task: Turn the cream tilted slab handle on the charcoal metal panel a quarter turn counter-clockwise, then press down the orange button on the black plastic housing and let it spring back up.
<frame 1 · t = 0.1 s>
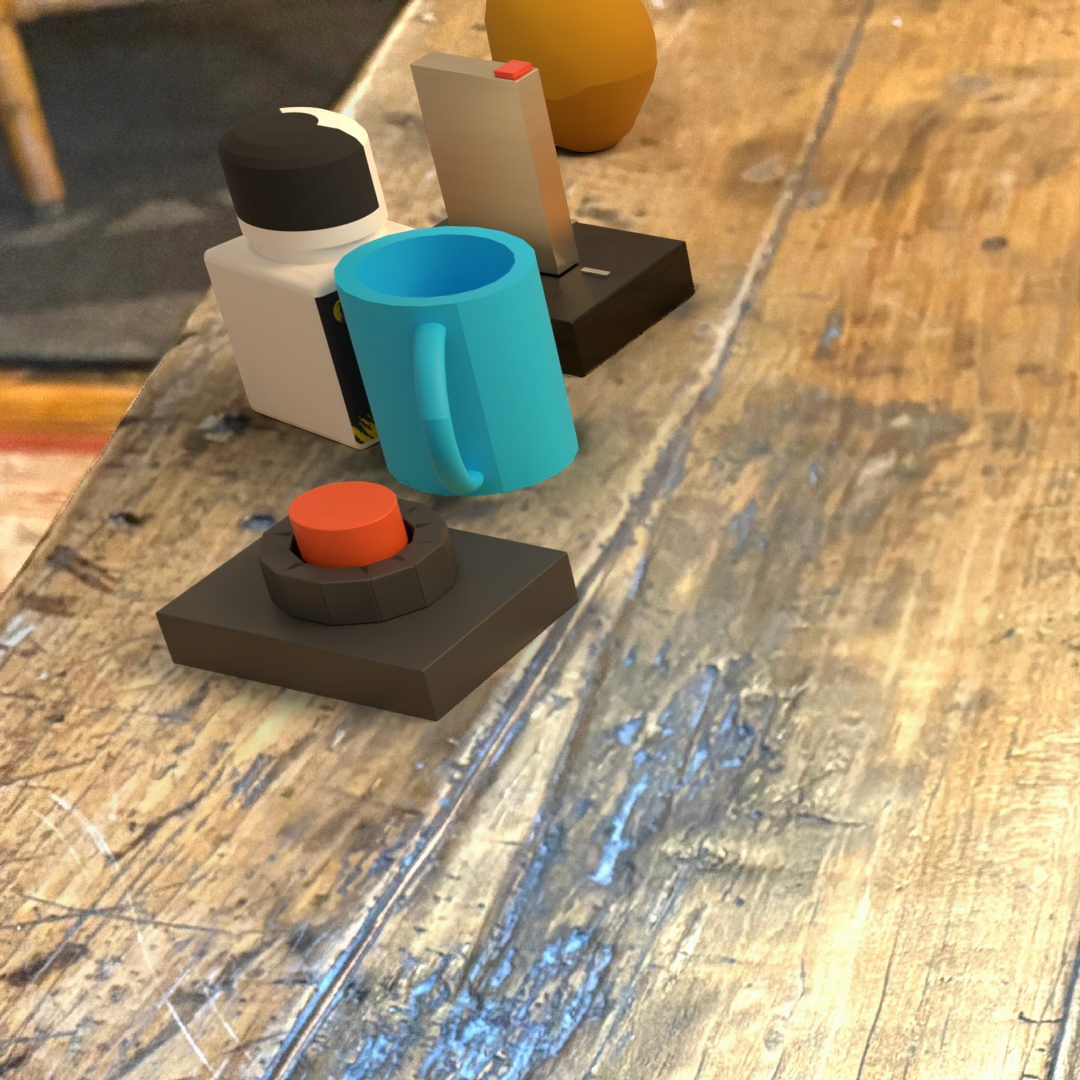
medicine bottle: (367, 408, 119), on the table
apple: (593, 144, 141), on the table
tilted slab handle: (496, 162, 121), point 7 cm above the table, hinge at 0.0°
mug: (480, 478, 115), on the table
button box: (380, 632, 105), on the table
button: (348, 526, 102), point 4 cm above the table, slide at 0.1 cm
dial panel: (531, 313, 126), on the table
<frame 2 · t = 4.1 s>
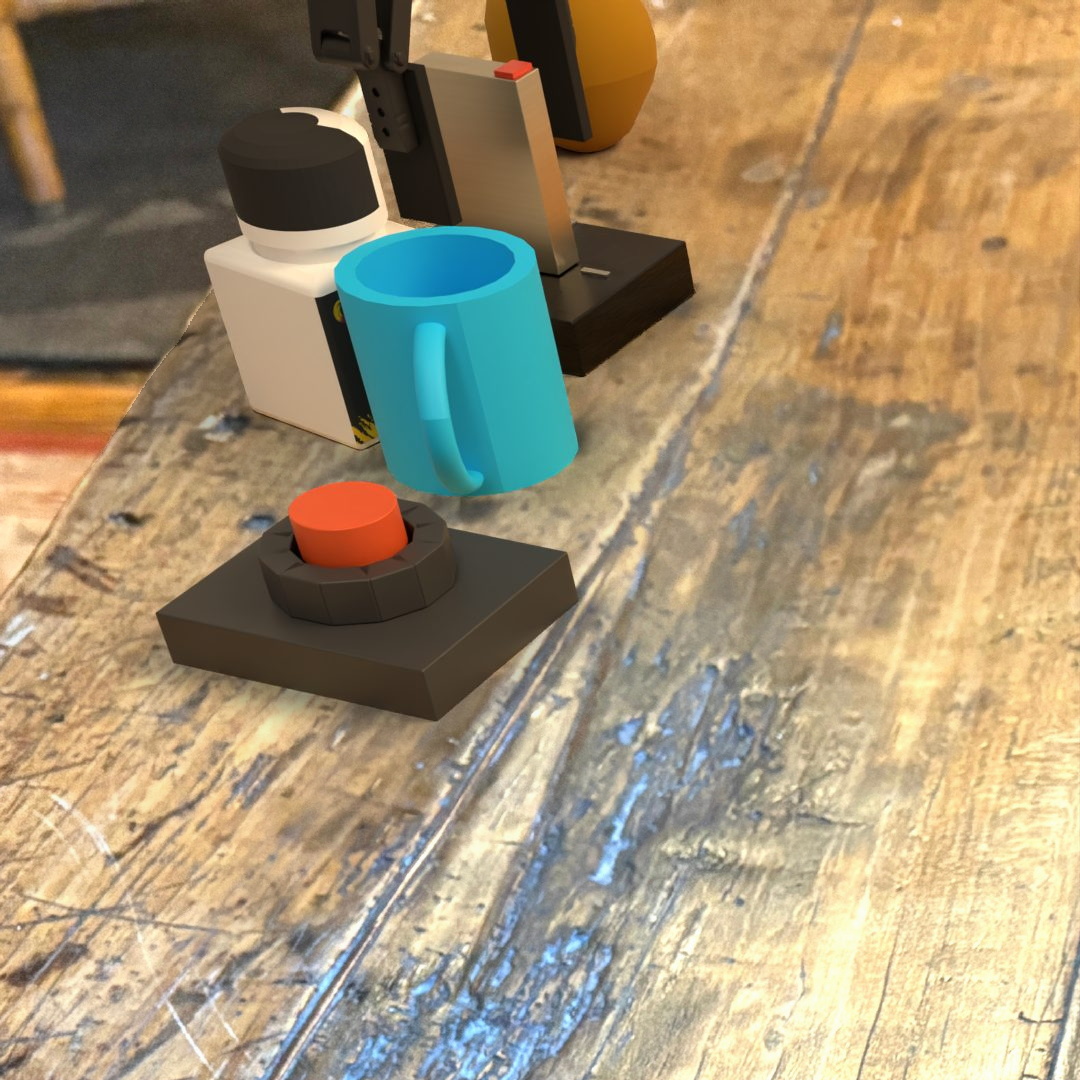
hand: (499, 176, 121), 6 cm above the table, tool pointing down, fingers open, 10 cm apart
nothing on the table moved.
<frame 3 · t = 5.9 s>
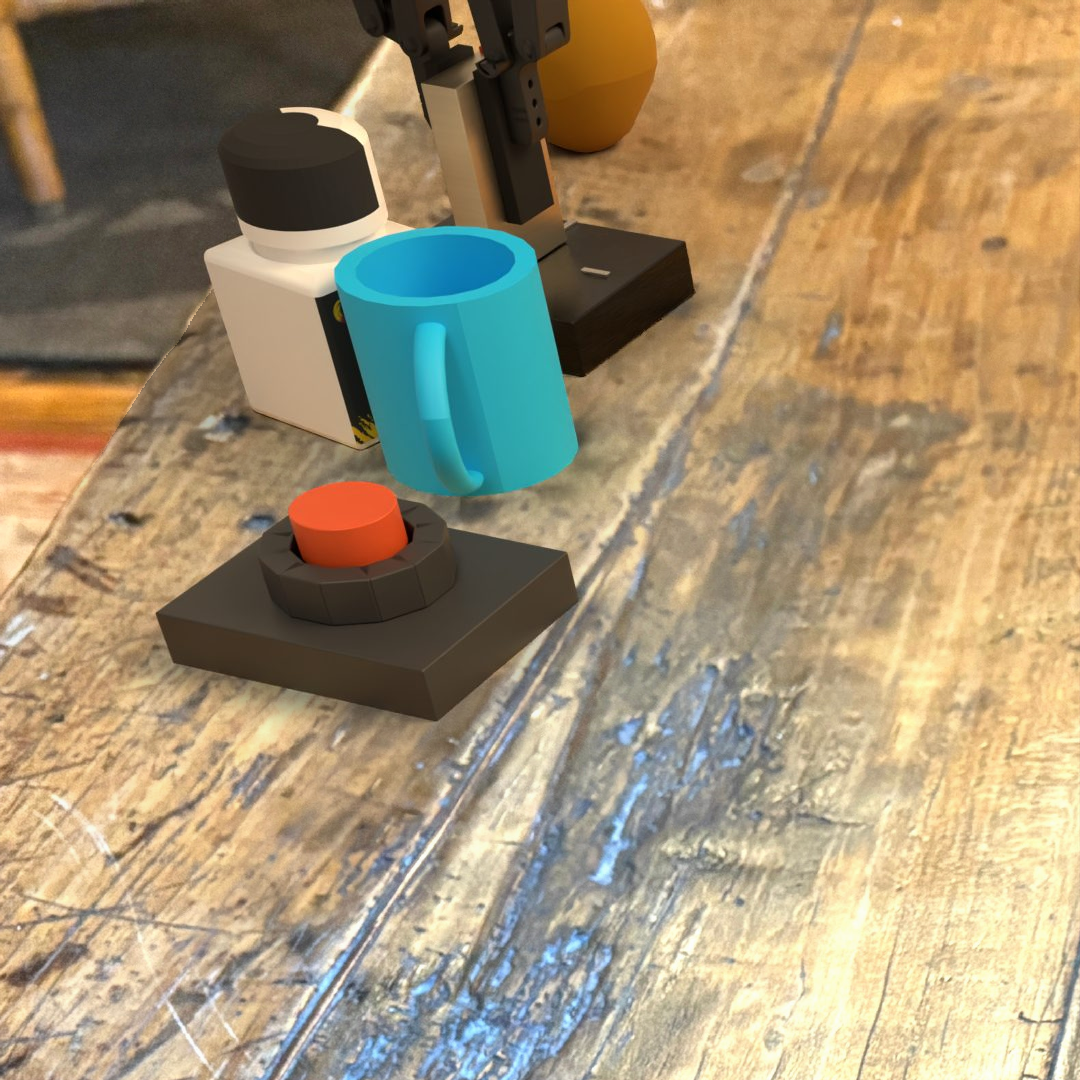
hand: (507, 208, 122), 5 cm above the table, tool pointing down, fingers closed on tilted slab handle, 2 cm apart
tilted slab handle: (496, 162, 121), point 7 cm above the table, hinge at 89.3°, touching gripper
everything else where it was.
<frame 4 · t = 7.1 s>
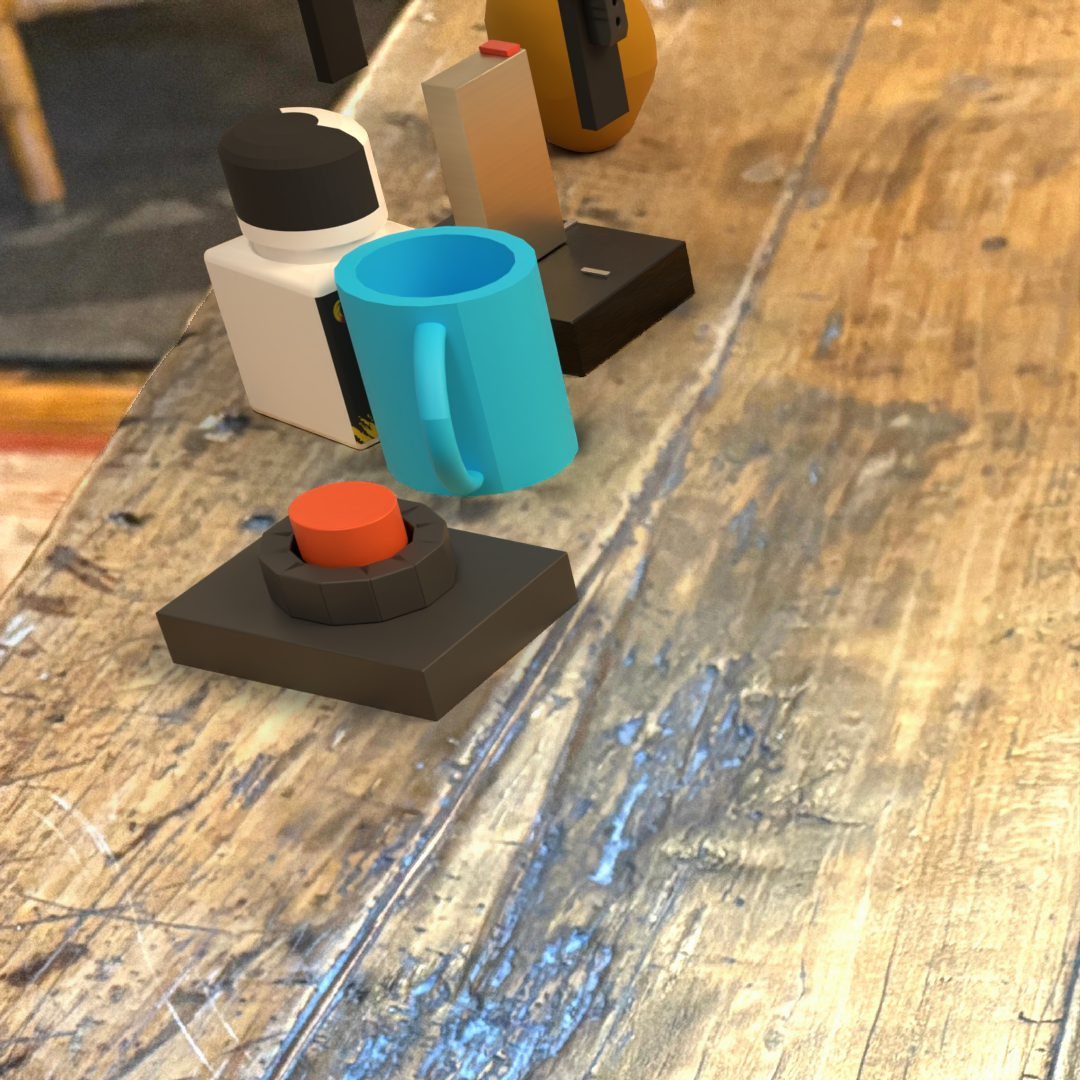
hand: (473, 97, 119), 10 cm above the table, tool pointing down, fingers open, 13 cm apart
tilted slab handle: (496, 162, 121), point 7 cm above the table, hinge at 89.3°
everything else where it was.
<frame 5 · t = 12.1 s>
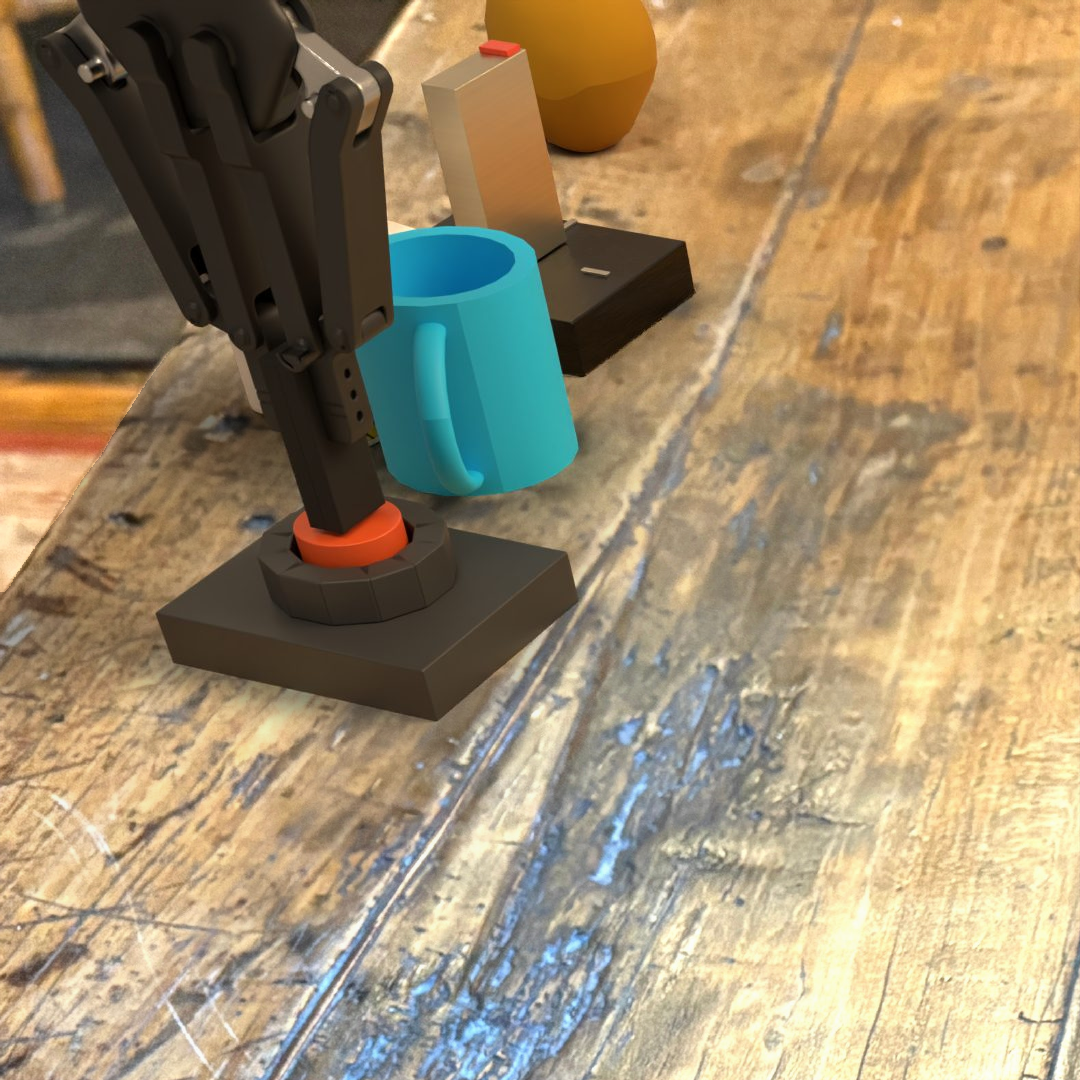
hand: (348, 514, 102), 5 cm above the table, tool pointing down, fingers closed
button: (353, 541, 102), point 4 cm above the table, slide at -0.5 cm, touching gripper
everything else where it was.
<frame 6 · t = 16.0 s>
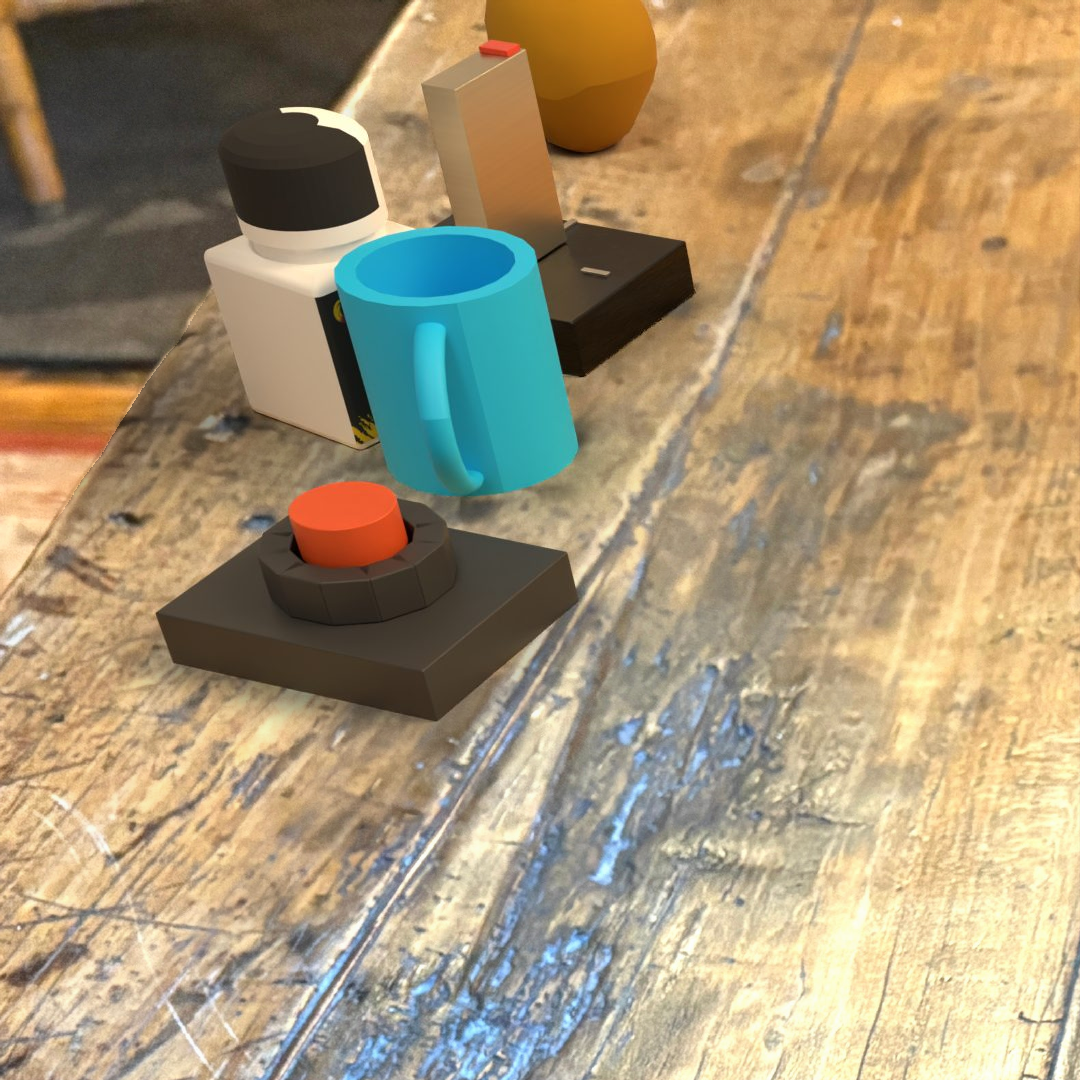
button: (348, 526, 102), point 4 cm above the table, slide at 0.1 cm
everything else where it was.
at the end: tilted slab handle at +89° (first picture: +0°); button pushed in 1.0 cm at the most during the clip, back to where it started at the end; button slide at 0.1 cm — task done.
